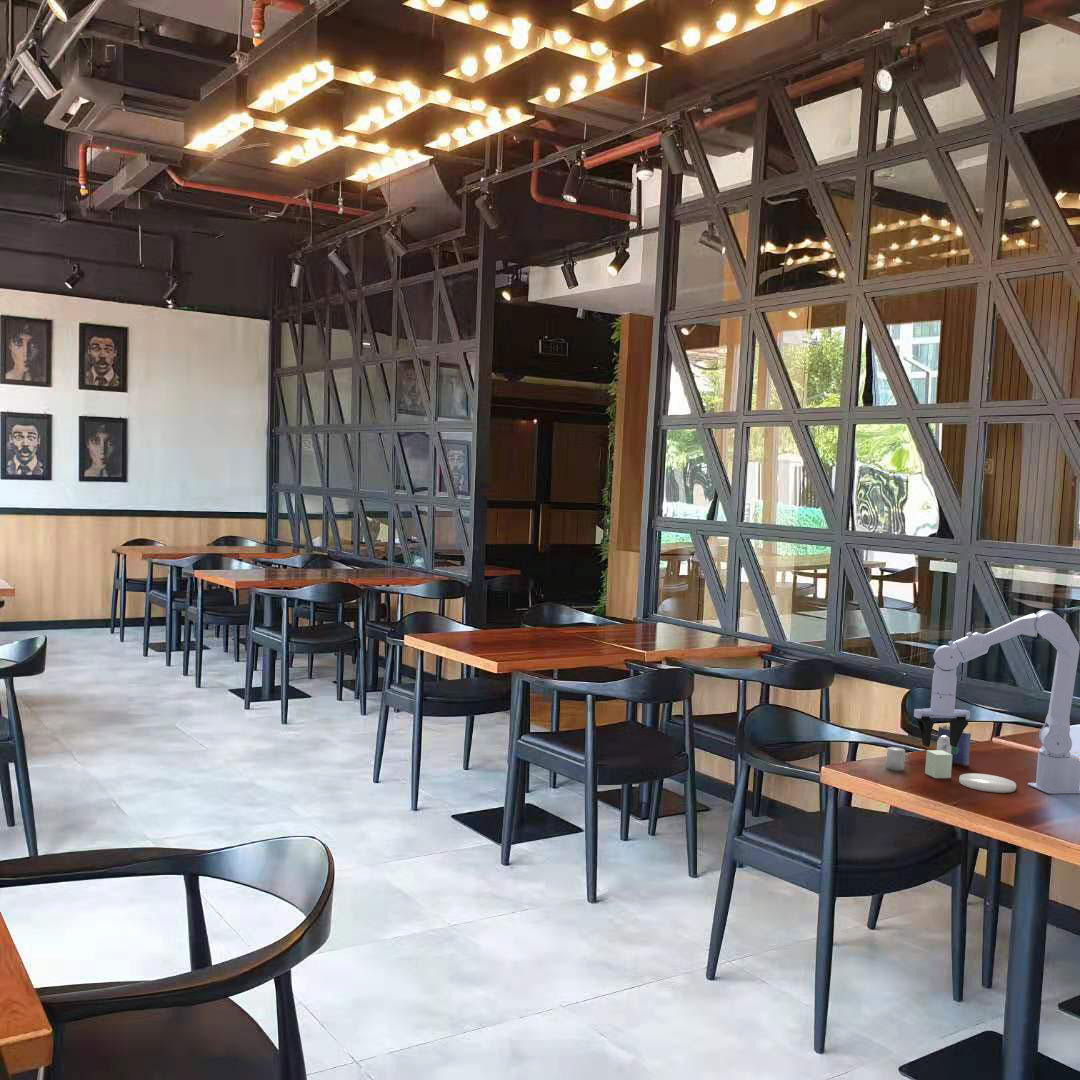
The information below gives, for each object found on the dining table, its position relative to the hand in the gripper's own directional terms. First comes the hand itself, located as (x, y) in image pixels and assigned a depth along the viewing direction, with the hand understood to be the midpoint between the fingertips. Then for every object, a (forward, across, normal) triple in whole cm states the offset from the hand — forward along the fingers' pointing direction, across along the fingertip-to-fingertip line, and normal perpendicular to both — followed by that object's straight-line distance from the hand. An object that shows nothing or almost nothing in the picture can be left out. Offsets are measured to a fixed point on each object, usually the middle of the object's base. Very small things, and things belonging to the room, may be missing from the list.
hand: (939, 746), depth 274 cm
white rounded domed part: (+8, +8, -7) cm, 13 cm away
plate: (+8, -8, +9) cm, 14 cm away
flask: (+8, -12, -13) cm, 19 cm away
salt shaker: (+8, -6, -8) cm, 12 cm away
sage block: (+8, 0, 0) cm, 8 cm away
